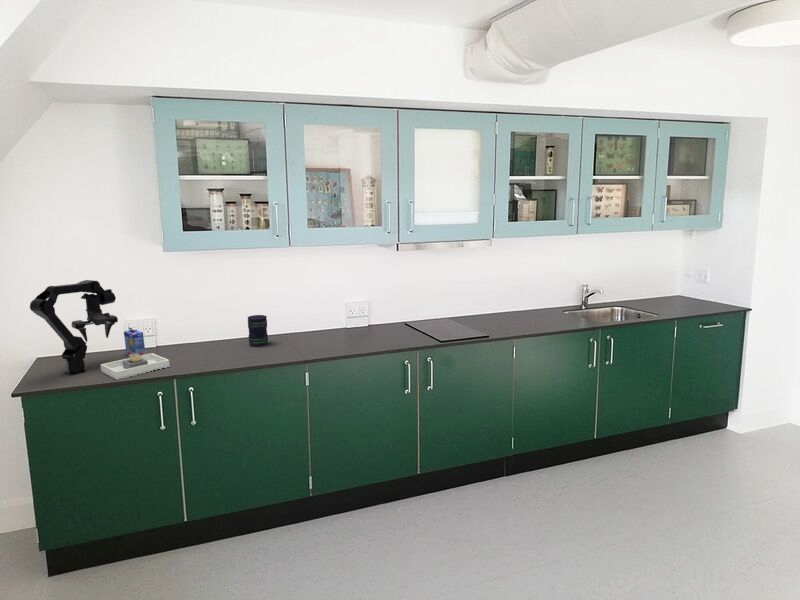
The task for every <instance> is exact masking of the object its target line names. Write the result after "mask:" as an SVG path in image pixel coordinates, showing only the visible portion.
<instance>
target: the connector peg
mask: <svg viewBox="0 0 800 600" xmlns="http://www.w3.org/2000/svg"><path fill="white" fill-rule="evenodd" d="M128 358H129V362H130V363H136V362H140V361H141V358H140V354H137V353H135V354H131V355H128Z"/></svg>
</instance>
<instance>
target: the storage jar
mask: <svg viewBox="0 0 800 600" xmlns="http://www.w3.org/2000/svg"><path fill="white" fill-rule="evenodd" d="M267 318H268V316H267V315H264V314H255V315H249V316H247V327H248V343H249V344H248V345H249V347H251V348H263V347H267V346H268V345H269V343H268V342H269V336H268V335H269V334H268V329H267V328H268V320H267Z"/></svg>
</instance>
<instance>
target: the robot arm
mask: <svg viewBox="0 0 800 600" xmlns="http://www.w3.org/2000/svg"><path fill="white" fill-rule="evenodd" d="M73 293H74V294H75V293H77V294H78V293H83V295H81V297H80V300H82V299H83V300H85V306H86V309H85V311H86V314H87V317H86V320H85V321H83V320H81V319H80V320H79V319H78V320H72V322H71V328H73V329H76V330H77V331H78V332H80V334H81V336H77V335H76V336H75V335H74V334H73V333H72V331H70V330H69V329H68V327H67V326H66V325H65V323H64V322H63V321H62V320H61V319H60V318H59V316H58V315H57V314H56V310H55V307H54V305H56V302H57V299H58V297H59V296H60V295H67V294H68V295H69V294H73ZM116 297H117V296H116V295H115V293H114V292H113V291H112V289H111V288H108V289H104V288H103V286H101V283H100V282H99V281H98V280H92V279H85V280H82V281H79V282H77V283H70V284H60V285H49V286H47V287H45V290H43V291H42V292H40V293H39V294H38V295H37V296H36V297H35V298H34V299H33V300H31V301H30V304H29V309H30V311H32V312H33V313H34V314H35V315H36V316H38V317H40V318H41V319H43V320H44V321H45V322H46V323H47V325H49V326H50V328H52V330H53V331H54V332H55V333H56V334H57V336H58V337H59V338H60V339H61V340H62V341H63V347H64V351H63V352H62V354H61V357H62V359H63V360H65V369H66V370H65V373H66V374H68V375H70V376H71V375H75V374H80V373H84V372H86V365H85V360H84V359H85V358H86V354H87V349H88V346H87V342H88V335H87V327H86V326H89V325H90V326H91V325H95V326H100V325H104V333H105V338H107V339H108V338H109V335H110V331H111V329H112V327H113V326H114V325H115V324H116V323H118V322H119V319H118V316H116V315H114V314H111V313H109V312H105V313H103V310H102V308H101V306H105V305H109V304H113V303H115V302H116Z"/></svg>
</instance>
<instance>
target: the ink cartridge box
mask: <svg viewBox="0 0 800 600" xmlns="http://www.w3.org/2000/svg"><path fill="white" fill-rule="evenodd" d="M123 337H124V345H125V346H124V347H125V354H126V356H129V355H131V354H135V353H137V354H140V356H142V355H146V354H147V353H146V347H145V346H146V345H145V340H144V339H145V337H144V332H143V331H140V330H137V329H133V328H132V327H128V330H124V331H123Z"/></svg>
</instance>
